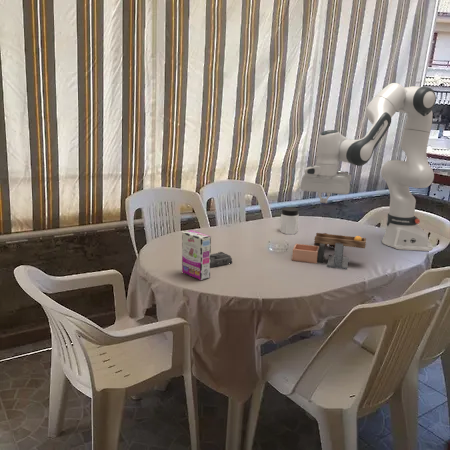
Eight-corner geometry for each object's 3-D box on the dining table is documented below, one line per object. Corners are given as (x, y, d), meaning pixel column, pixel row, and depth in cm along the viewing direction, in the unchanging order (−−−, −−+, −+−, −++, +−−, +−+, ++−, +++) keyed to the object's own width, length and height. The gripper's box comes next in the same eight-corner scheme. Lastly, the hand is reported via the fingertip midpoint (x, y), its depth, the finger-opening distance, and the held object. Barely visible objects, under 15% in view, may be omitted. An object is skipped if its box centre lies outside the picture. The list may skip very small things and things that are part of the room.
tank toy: (209, 270, 182) (209, 258, 180) (197, 263, 189) (197, 251, 188) (235, 265, 188) (235, 253, 186) (223, 258, 195) (223, 246, 194)
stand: (348, 259, 197) (351, 236, 194) (347, 269, 185) (349, 245, 182) (320, 255, 200) (322, 233, 198) (316, 265, 188) (318, 242, 186)
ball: (362, 235, 188) (354, 234, 189) (361, 237, 185) (354, 236, 186) (361, 242, 189) (354, 241, 189) (361, 244, 186) (353, 243, 187)
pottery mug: (339, 253, 205) (332, 239, 202) (319, 260, 208) (312, 246, 205) (335, 239, 216) (329, 225, 212) (316, 246, 218) (309, 232, 215)
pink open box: (318, 257, 198) (319, 246, 197) (316, 263, 191) (317, 252, 189) (295, 254, 201) (295, 243, 200) (292, 260, 193) (292, 249, 192)
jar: (284, 228, 240) (285, 206, 237) (299, 231, 237) (300, 208, 234) (278, 233, 233) (279, 209, 229) (293, 235, 229) (295, 211, 226)
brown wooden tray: (365, 243, 191) (366, 237, 190) (365, 249, 183) (365, 243, 182) (316, 238, 197) (316, 232, 196) (314, 244, 189) (314, 237, 188)
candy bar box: (211, 278, 173) (211, 235, 168) (200, 281, 169) (201, 238, 165) (191, 269, 180) (191, 229, 176) (181, 272, 177) (181, 231, 172)
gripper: (352, 170, 192) (349, 203, 195) (303, 167, 198) (300, 199, 201) (351, 173, 186) (348, 206, 190) (300, 169, 192) (298, 202, 195)
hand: (323, 202), depth 195 cm, fingers closed
